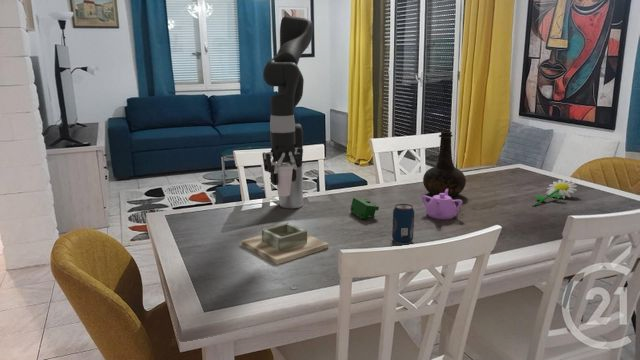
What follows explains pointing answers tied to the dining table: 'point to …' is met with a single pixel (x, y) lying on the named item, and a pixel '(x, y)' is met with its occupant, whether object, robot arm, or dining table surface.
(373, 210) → the toy dumpster
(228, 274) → the dining table surface
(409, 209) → the soda can
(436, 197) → the teapot
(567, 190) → the decorative flower
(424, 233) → the dining table surface
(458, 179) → the glass bottle
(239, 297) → the dining table surface
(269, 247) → the collar stand
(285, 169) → the smoothie
